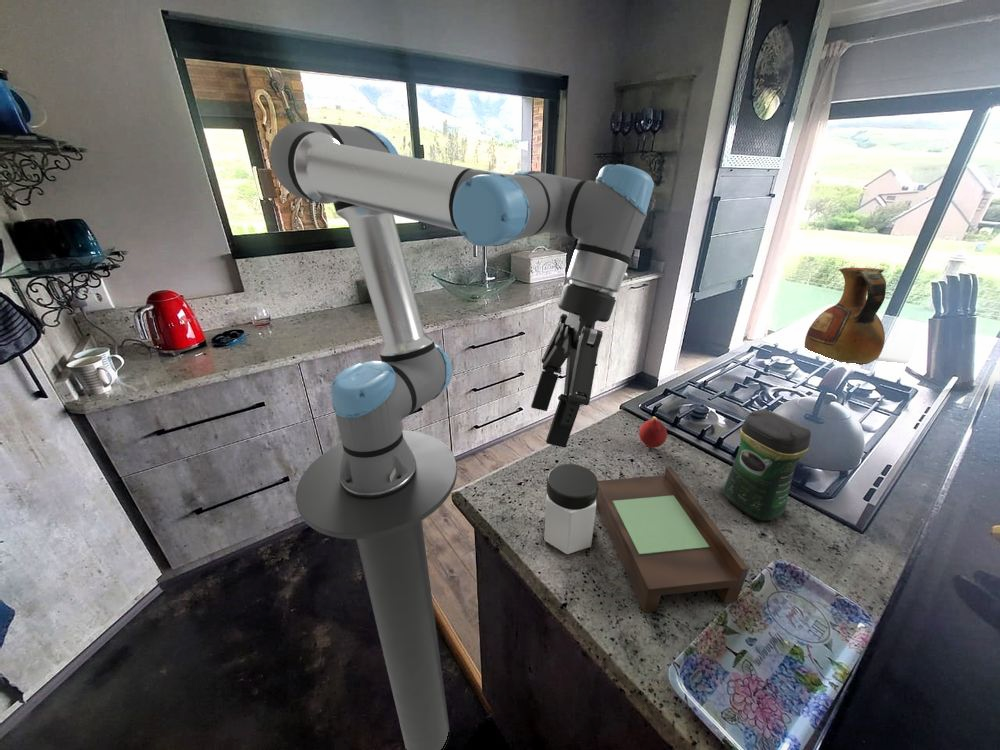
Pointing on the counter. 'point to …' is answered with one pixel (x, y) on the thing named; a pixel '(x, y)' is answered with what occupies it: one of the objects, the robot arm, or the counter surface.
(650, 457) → the counter surface
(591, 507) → the jar
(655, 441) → the onion
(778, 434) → the coffee jar
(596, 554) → the counter surface
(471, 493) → the counter surface
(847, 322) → the ceramic pitcher
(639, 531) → the shelf
